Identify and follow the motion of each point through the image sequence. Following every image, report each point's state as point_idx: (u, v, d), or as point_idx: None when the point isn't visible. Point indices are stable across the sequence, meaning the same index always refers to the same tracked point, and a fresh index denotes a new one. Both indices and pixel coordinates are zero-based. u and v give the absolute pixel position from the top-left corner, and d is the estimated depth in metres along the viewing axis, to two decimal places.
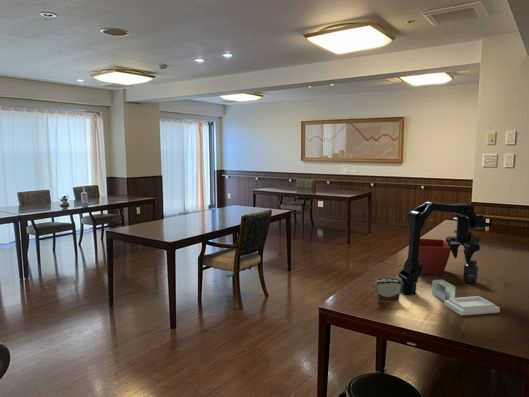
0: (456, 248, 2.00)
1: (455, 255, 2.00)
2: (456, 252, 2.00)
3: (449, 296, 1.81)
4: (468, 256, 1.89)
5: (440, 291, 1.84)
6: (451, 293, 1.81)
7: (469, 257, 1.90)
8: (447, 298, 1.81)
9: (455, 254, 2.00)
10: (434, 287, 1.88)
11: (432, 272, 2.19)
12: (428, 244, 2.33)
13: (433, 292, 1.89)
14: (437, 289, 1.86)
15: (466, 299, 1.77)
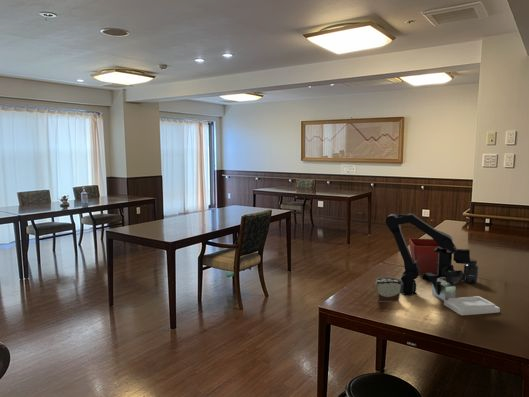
0: None
1: None
2: None
3: (449, 296, 1.81)
4: (435, 287, 1.85)
5: (440, 291, 1.84)
6: (451, 293, 1.81)
7: (436, 288, 1.85)
8: (447, 298, 1.81)
9: None
10: None
11: (432, 272, 2.19)
12: (428, 244, 2.33)
13: (433, 292, 1.89)
14: None
15: (466, 299, 1.77)
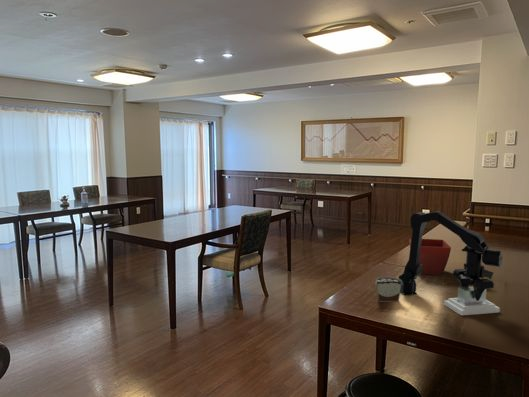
0: (466, 283, 1.76)
1: None
2: None
3: None
4: (478, 293, 1.67)
5: None
6: None
7: (479, 294, 1.67)
8: None
9: None
10: (468, 297, 1.69)
11: (432, 272, 2.19)
12: (428, 244, 2.33)
13: (467, 303, 1.69)
14: (473, 297, 1.70)
15: None
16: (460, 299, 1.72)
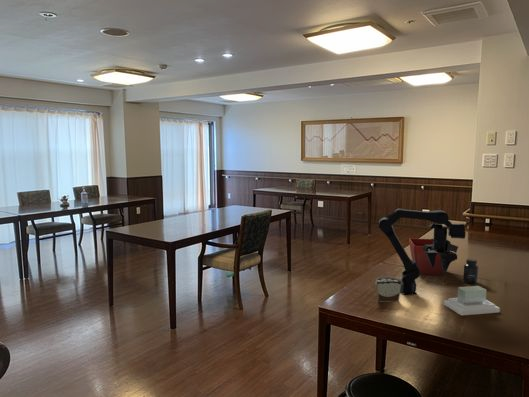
0: (433, 257, 1.91)
1: (432, 264, 1.91)
2: (433, 261, 1.91)
3: None
4: (445, 266, 1.81)
5: (478, 297, 1.70)
6: None
7: (446, 267, 1.81)
8: None
9: (432, 263, 1.91)
10: (468, 297, 1.69)
11: (432, 272, 2.19)
12: (428, 244, 2.33)
13: (467, 303, 1.69)
14: (473, 297, 1.70)
15: None
16: (460, 299, 1.72)
